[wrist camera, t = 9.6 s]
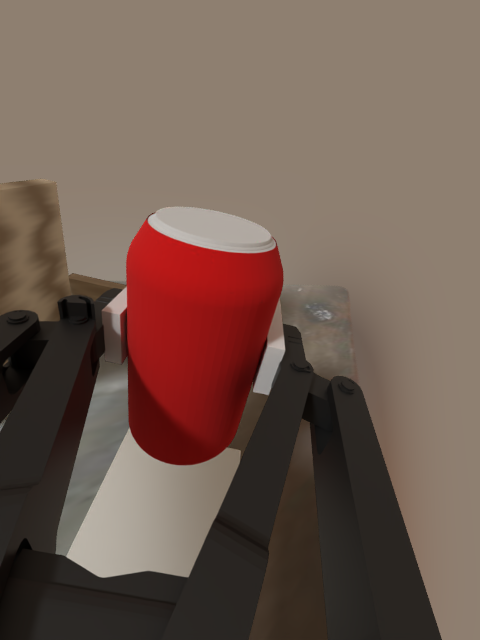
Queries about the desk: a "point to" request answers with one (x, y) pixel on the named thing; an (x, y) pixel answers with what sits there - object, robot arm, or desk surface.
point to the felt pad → (152, 513)
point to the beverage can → (196, 328)
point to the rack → (37, 252)
